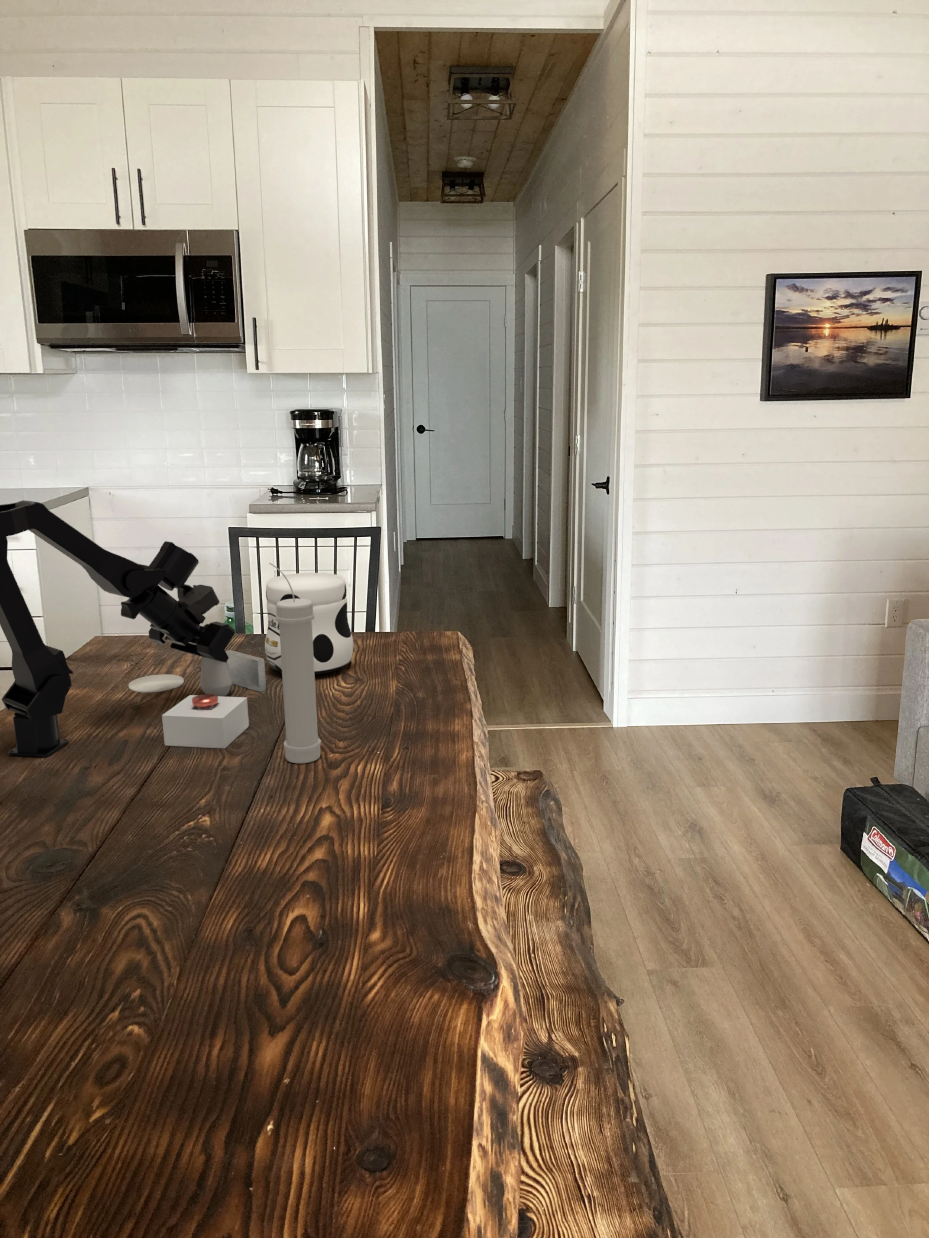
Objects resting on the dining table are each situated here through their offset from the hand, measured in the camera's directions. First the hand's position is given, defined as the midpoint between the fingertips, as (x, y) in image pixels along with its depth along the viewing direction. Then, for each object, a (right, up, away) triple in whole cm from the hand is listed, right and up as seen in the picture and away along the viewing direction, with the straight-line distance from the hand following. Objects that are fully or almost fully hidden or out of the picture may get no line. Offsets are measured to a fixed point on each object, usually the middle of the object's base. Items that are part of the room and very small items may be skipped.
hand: (220, 658), depth 173 cm
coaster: (-14, -5, +7) cm, 16 cm away
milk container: (+14, -3, +16) cm, 21 cm away
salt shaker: (-1, -7, +1) cm, 7 cm away
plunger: (+3, -11, -20) cm, 23 cm away
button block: (+3, -12, -20) cm, 23 cm away
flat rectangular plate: (+3, -5, +5) cm, 8 cm away
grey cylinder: (+20, -14, -29) cm, 38 cm away
